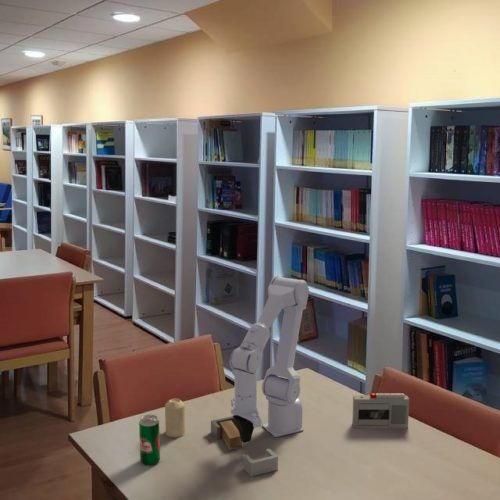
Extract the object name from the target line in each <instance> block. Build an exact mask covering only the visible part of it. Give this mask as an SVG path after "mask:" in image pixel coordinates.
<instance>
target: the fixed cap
mask: <svg viewBox="0 0 500 500" xmlns="http://www.w3.org/2000/svg"><path fill="white" fill-rule="evenodd" d="M224 421H232V422H233V423H234V425H235V426H236V428H237V429H238V426H237V424H236V422H235V420H234V418H233V415H231V416H227V417H221V418H218V419H213V420H210V433H211V434H212V435H213V437H215V439H217V440H220V439H221V434H220V422H224ZM238 431H239V430H238Z"/></svg>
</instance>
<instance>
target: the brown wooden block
mask: <svg viewBox="0 0 500 500" xmlns="http://www.w3.org/2000/svg"><path fill="white" fill-rule="evenodd" d="M220 437H222V439H223V441H224V442H225V444H226V445H227V447H228V449H229V450H236V449H241V448H243V442H242V441H241V438H240V434H239V431H238V429H237V428H236V426H235V425H234V423H233V422H232V421H224V422H220Z"/></svg>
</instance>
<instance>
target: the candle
mask: <svg viewBox="0 0 500 500" xmlns="http://www.w3.org/2000/svg"><path fill="white" fill-rule="evenodd" d="M185 405H186V404H185V402H183V401H182V400H181V399H180V398H177V397H174V398H171V399H168V401H167V402H166V403H165V404H164V418H165V419H164V420H165V421H164V422H165V425H164V426H165V436H167V437H169V438H180V437H182V436H184V435H185V433H186V410H185V409H186V406H185Z"/></svg>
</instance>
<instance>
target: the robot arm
mask: <svg viewBox="0 0 500 500" xmlns="http://www.w3.org/2000/svg"><path fill="white" fill-rule="evenodd" d="M309 291H310V288H309V286H308V283H307V281H306V280H304V279H295V278H289V277H284V276H283V277H281V276H278V275H276V276H274V277H272V278H271V280H270V281H269V285H268V287H267V294H268V298H267V300H266V302H265V305H264V307H263V310H262V312H261V315H260V316H259V319H258V321H257V322H256V323H252V324H251V325H250V327H249V329H248V331H247V333H246V334H245V337H244V339H243V340H242V342H241V344H240V345H239V347H237V348H234V349H233V351H231V354H230V359H229V360H228V362H229V366H230V367H231V370H232V371H231V372H232V375H233V376H234V377H233V379H234V398H231V399H230V406H231V408H232V407H233V409H231V410H230V414H231V416H233V418H234V420H235V422H236V424H237V426H238V430H239V434H240V438H241V441H242V444H246V443H251V440H252V437H253V432H254V429H255V428H260V427H263V428H264V429H265V430H266V431H267V432H269V434H271V436H273V437H274V438H277V437H283V436H287V435H290V434H295V433H299V432H303V431H304V428H303V405H302V401H301V400H300V399H299V396H300V393H301V385H300V382H301V376H300V374H298V372H297V371H296V370H295V369H294V363H295V357H296V351H297V344H298V339H299V334H300V328H301V323H302V318H303V310H306V309H307V304H308V299H309V293H310V292H309ZM282 310H283V317H282V321H281V322H282V323H281V327H280V328H281V329H280V335H279V339H278V346H277V351H276V357H275V363H274V365H272V366H271V367H270V368H268V369H267V370H266V372H265V376H264V379H263V380H262V383H261V391H262V393H263V396H265V399H266V400H267V403H268V404H267V406H268V407H267V413H268V414H267V422H266V423H262V422H263V421H262V418H261V417H260V414H259V411H258V410H259V409H258V407H257V372H258V370H259V368H260V367H261V365H262V358H263V355H264V354H263V351H264V349H265V347H266V345H267V343H268V341H269V339H270V337H271V330H270V328H271V327H272V325H273V323H275V320H276V319H277V318H278V315H280V313H281V311H282Z"/></svg>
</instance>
